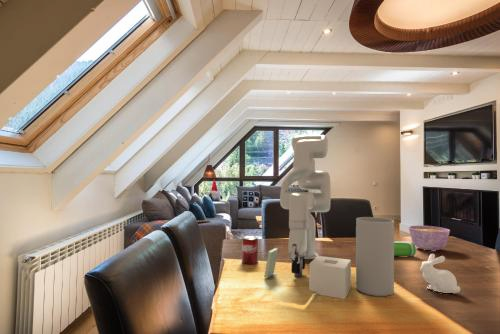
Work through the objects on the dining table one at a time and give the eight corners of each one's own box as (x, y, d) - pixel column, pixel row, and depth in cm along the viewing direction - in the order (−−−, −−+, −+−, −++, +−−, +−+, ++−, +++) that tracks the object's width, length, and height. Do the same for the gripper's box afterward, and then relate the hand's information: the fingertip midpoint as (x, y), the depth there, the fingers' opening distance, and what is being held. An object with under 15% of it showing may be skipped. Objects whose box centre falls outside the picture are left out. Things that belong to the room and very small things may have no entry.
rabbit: (418, 288, 116) (418, 255, 116) (427, 283, 122) (427, 251, 123) (457, 298, 107) (457, 262, 107) (464, 291, 114) (464, 257, 114)
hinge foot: (272, 276, 128) (272, 273, 128) (277, 277, 127) (277, 274, 127) (266, 281, 122) (266, 279, 122) (270, 282, 121) (270, 279, 121)
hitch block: (317, 282, 122) (318, 255, 122) (350, 287, 117) (350, 259, 117) (309, 292, 111) (309, 263, 111) (344, 299, 106) (345, 268, 106)
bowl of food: (450, 248, 180) (450, 227, 180) (449, 256, 163) (449, 233, 163) (410, 244, 190) (410, 224, 191) (406, 250, 174) (406, 229, 174)
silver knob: (293, 275, 130) (293, 249, 130) (307, 277, 128) (307, 251, 128) (289, 279, 125) (289, 252, 125) (303, 281, 122) (303, 254, 123)
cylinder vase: (390, 300, 105) (390, 223, 106) (352, 292, 112) (352, 220, 112) (396, 288, 116) (396, 219, 116) (360, 282, 123) (360, 216, 123)
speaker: (409, 255, 165) (409, 240, 165) (416, 258, 158) (416, 243, 158) (374, 254, 166) (375, 239, 166) (379, 257, 159) (379, 242, 159)
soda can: (256, 267, 140) (256, 239, 140) (240, 266, 142) (240, 239, 142) (259, 263, 147) (259, 236, 147) (243, 261, 149) (244, 235, 149)
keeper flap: (271, 272, 129) (275, 247, 128) (273, 273, 128) (278, 248, 128) (264, 277, 122) (268, 251, 122) (266, 278, 122) (271, 252, 121)
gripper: (296, 221, 136) (295, 264, 136) (282, 227, 121) (281, 275, 120) (313, 222, 133) (313, 266, 132) (301, 228, 117) (301, 278, 117)
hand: (298, 270), depth 126 cm, fingers open, 5 cm apart
